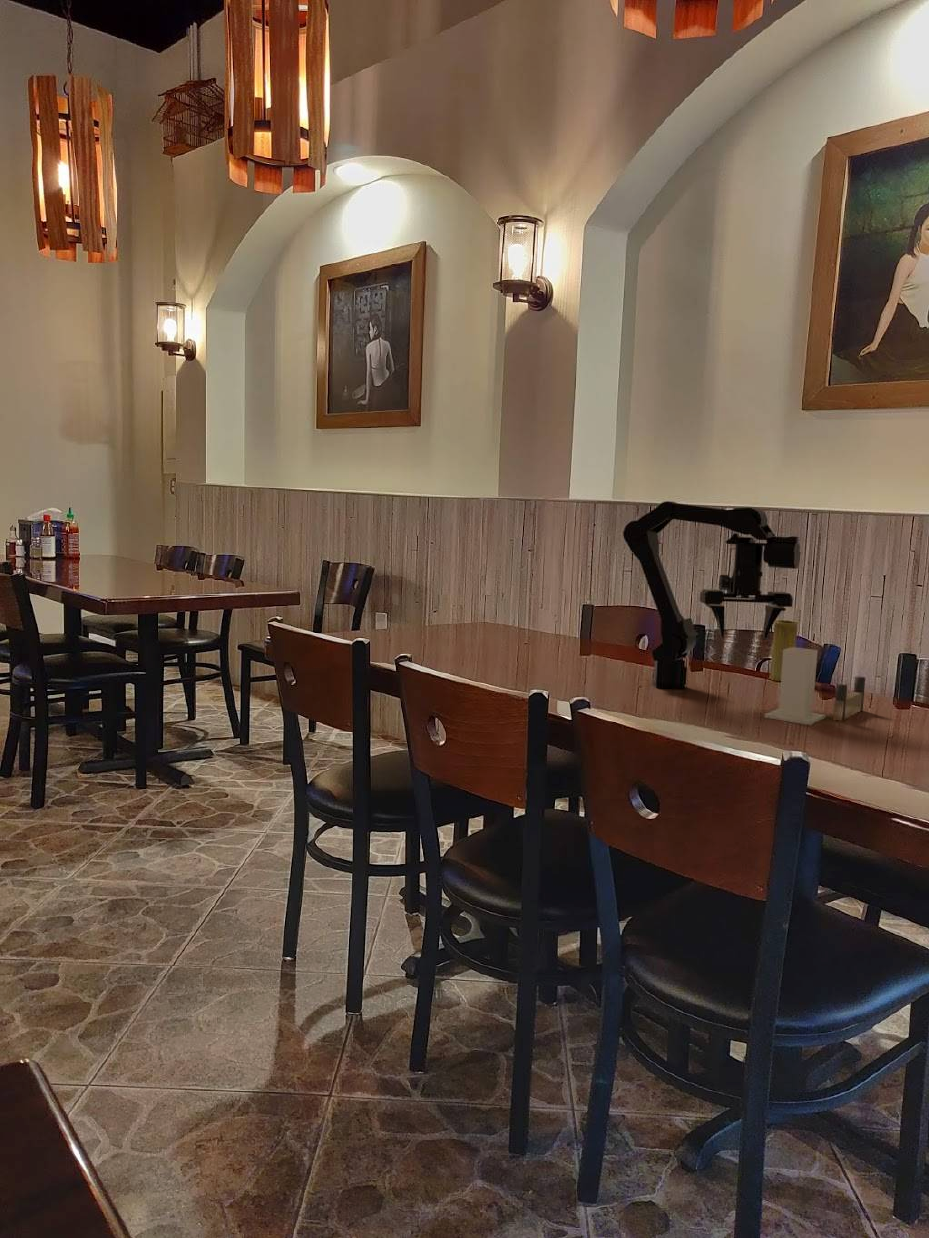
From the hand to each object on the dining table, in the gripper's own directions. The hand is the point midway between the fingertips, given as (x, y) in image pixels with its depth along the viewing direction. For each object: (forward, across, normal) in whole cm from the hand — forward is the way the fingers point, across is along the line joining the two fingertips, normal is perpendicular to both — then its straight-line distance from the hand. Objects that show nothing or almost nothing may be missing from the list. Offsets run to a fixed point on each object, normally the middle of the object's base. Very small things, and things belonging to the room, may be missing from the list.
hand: (743, 637), depth 204 cm
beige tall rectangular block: (+12, -6, +20) cm, 24 cm away
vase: (+13, -16, -22) cm, 30 cm away
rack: (+13, -18, +16) cm, 27 cm away
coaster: (+13, -6, +20) cm, 25 cm away
